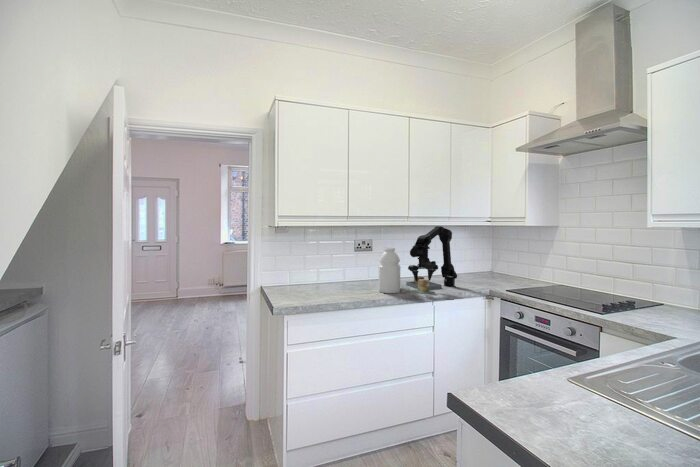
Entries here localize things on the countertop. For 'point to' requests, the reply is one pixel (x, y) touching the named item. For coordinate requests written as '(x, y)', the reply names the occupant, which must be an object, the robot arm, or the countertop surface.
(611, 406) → the countertop surface
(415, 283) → the walnut block
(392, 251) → the bottle
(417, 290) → the green pad
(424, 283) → the oak block
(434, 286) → the grey square slab
